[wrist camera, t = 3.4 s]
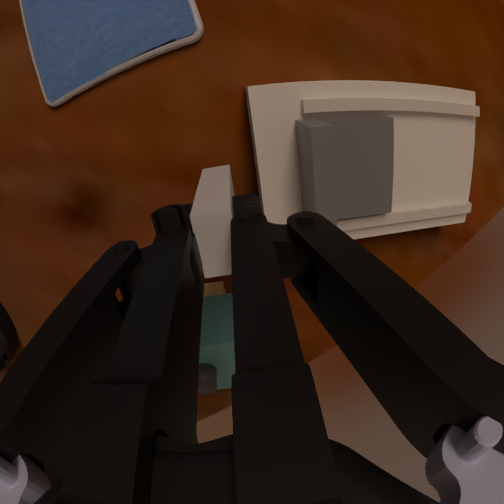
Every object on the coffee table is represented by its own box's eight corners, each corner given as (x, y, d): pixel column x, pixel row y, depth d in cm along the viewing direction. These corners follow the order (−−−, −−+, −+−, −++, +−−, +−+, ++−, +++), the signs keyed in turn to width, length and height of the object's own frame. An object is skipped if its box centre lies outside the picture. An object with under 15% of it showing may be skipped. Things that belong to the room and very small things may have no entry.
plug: (188, 321, 28) (179, 408, 20) (173, 278, 25) (155, 368, 17) (240, 314, 28) (248, 402, 20) (231, 270, 25) (236, 360, 17)
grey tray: (263, 232, 24) (269, 256, 21) (244, 87, 18) (247, 86, 15) (445, 207, 24) (468, 224, 21) (451, 87, 18) (479, 92, 15)
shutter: (303, 217, 20) (316, 242, 17) (295, 119, 17) (310, 127, 14) (384, 206, 20) (408, 228, 17) (385, 115, 17) (414, 123, 14)
